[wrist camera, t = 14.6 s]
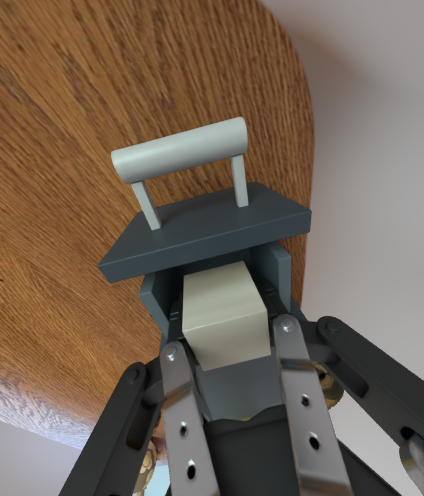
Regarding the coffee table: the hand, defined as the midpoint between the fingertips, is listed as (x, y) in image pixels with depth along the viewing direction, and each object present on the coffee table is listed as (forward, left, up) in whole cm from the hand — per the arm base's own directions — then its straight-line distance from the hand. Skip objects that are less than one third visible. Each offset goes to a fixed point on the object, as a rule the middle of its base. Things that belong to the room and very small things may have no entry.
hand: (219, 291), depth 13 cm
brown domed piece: (+66, -34, -6) cm, 74 cm away
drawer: (-2, 0, -6) cm, 6 cm away
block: (0, 0, 0) cm, 0 cm away
